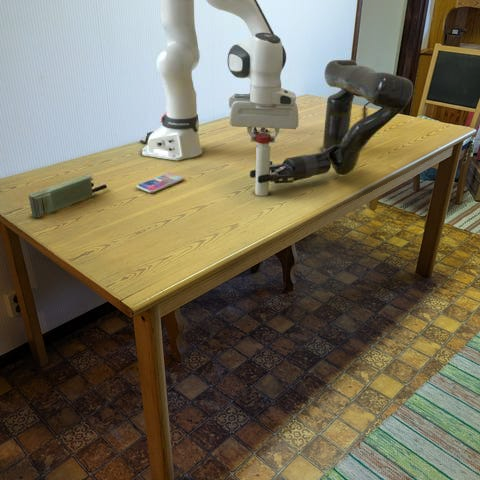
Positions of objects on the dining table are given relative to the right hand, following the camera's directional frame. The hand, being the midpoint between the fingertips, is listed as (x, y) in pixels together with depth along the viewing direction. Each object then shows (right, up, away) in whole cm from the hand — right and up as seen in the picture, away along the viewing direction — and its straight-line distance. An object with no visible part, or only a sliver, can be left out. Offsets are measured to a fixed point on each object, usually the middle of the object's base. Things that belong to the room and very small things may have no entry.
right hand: (254, 177), depth 155 cm
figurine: (+3, +26, +59) cm, 65 cm away
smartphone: (-30, -1, +9) cm, 32 cm away
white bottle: (+2, -5, +4) cm, 7 cm away
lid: (+2, +12, -5) cm, 13 cm away
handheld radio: (-55, -8, -4) cm, 55 cm away
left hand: (+2, +10, -4) cm, 11 cm away
